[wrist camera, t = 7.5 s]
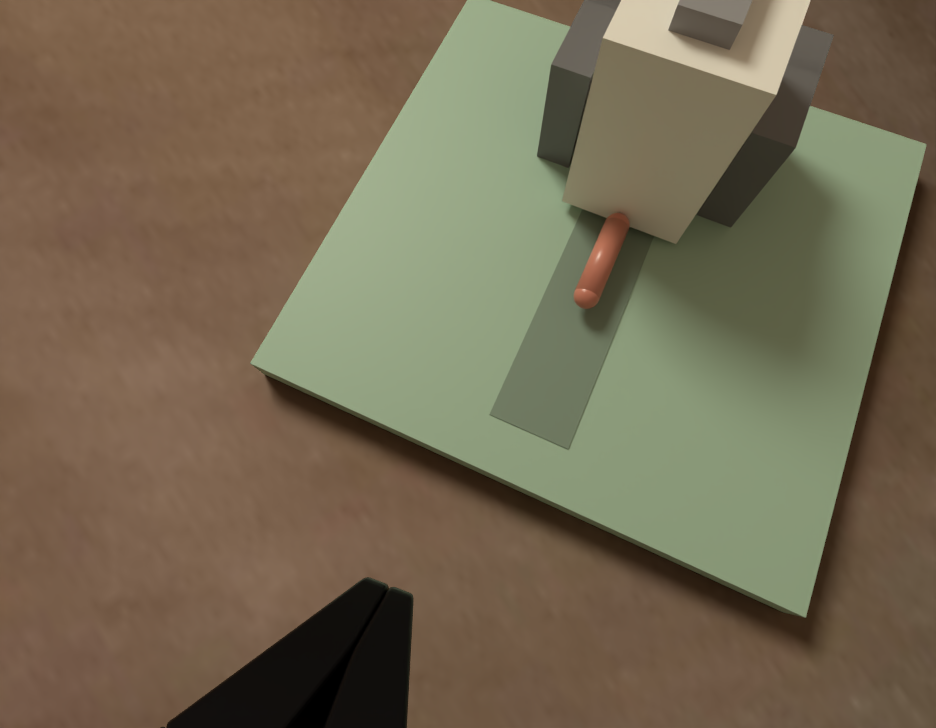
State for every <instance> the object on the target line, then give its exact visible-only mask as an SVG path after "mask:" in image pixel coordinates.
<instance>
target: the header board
mask: <svg viewBox="0 0 936 728" xmlns="http://www.w3.org/2000/svg"><path fill="white" fill-rule="evenodd" d="M569 29H570V27H569V26H566V25H563V24H560V23H557V22H554V21H551V20H548V19H545V18H542V17H539V16H536V15H533V14H530V13H527V12H524V11H521V10H517V9H514V8H511V7H508V6H505V5H502V4H499V3H496V2H493V1H490V0H467V2H466V3H465V5H464V7H463V8H462V10H461V12H460V13H459V15H458V17H457V19H456V20H455V22H454V24H453V25H452V27H451V29H450V30H449V32H448V34H447V35H446V37H445V39H444V40H443V42H442V44H441V45H440V47H439V49H438V50H437V52H436V54H435V55H434V57H433V59H432V60H431V62H430V64H429V65H428V67H427V69H426V70H425V72H424V74H423V75H422V77H421V79H420V80H419V82H418V84H417V85H416V87H415V89H414V90H413V92H412V94H411V95H410V97H409V99H408V100H407V102H406V104H405V105H404V107H403V109H402V110H401V112H400V114H399V115H398V117H397V119H396V120H395V122H394V124H393V125H392V127H391V129H390V130H389V132H388V134H387V136H386V137H385V139H384V141H383V142H382V144H381V146H380V147H379V149H378V151H377V152H376V154H375V156H374V157H373V159H372V161H371V162H370V164H369V166H368V167H367V169H366V171H365V172H364V174H363V176H362V177H361V179H360V181H359V182H358V184H357V186H356V187H355V189H354V191H353V192H352V194H351V196H350V197H349V199H348V201H347V202H346V204H345V206H344V207H343V209H342V211H341V212H340V214H339V216H338V217H337V219H336V221H335V222H334V224H333V226H332V227H331V229H330V231H329V232H328V234H327V236H326V237H325V239H324V241H323V242H322V244H321V246H320V247H319V249H318V251H317V252H316V254H315V256H314V258H313V259H312V261H311V263H310V264H309V266H308V268H307V269H306V271H305V273H304V274H303V276H302V278H301V279H300V281H299V283H298V284H297V286H296V288H295V289H294V291H293V293H292V294H291V296H290V298H289V299H288V301H287V303H286V304H285V306H284V308H283V309H282V311H281V313H280V314H279V316H278V318H277V319H276V321H275V323H274V324H273V326H272V328H271V329H270V331H269V333H268V334H267V336H266V338H265V339H264V341H263V343H262V344H261V346H260V348H259V349H258V351H257V353H256V354H255V356H254V358H253V359H252V361H251V363H250V364H252V365H253V366H254V367H255V368H257V369H258V370H259V371H261V372H262V373H263V374H265V375H267V376H269V377H271V378H273V379H276V380H278V381H280V382H282V383H284V384H286V385H289V386H291V387H293V388H295V389H297V390H300V391H302V392H304V393H306V394H308V395H310V396H313V397H315V398H317V399H319V400H321V401H324V402H326V403H328V404H330V405H332V406H334V407H337V408H339V409H341V410H343V411H345V412H347V413H350V414H352V415H354V416H356V417H358V418H361V419H363V420H365V421H367V422H369V423H371V424H374V425H376V426H378V427H380V428H382V429H385V430H387V431H389V432H391V433H393V434H395V435H398V436H400V437H402V438H404V439H406V440H408V441H411V442H413V443H415V444H417V445H419V446H422V447H424V448H426V449H428V450H430V451H432V452H435V453H437V454H439V455H441V456H443V457H446V458H448V459H450V460H452V461H454V462H456V463H459V464H461V465H463V466H465V467H467V468H469V469H472V470H474V471H476V472H478V473H480V474H483V475H485V476H487V477H489V478H491V479H493V480H496V481H498V482H500V483H502V484H504V485H506V486H509V487H511V488H513V489H515V490H517V491H520V492H522V493H524V494H526V495H528V496H530V497H533V498H535V499H537V500H539V501H541V502H544V503H546V504H548V505H550V506H552V507H554V508H557V509H559V510H561V511H563V512H565V513H567V514H570V515H572V516H574V517H576V518H578V519H581V520H583V521H585V522H587V523H589V524H591V525H594V526H596V527H598V528H600V529H602V530H605V531H607V532H609V533H611V534H613V535H615V536H618V537H620V538H622V539H624V540H626V541H628V542H631V543H633V544H635V545H637V546H639V547H642V548H644V549H646V550H648V551H650V552H652V553H655V554H657V555H659V556H661V557H663V558H666V559H668V560H670V561H672V562H674V563H676V564H679V565H681V566H683V567H685V568H687V569H689V570H692V571H694V572H696V573H698V574H700V575H703V576H705V577H707V578H709V579H711V580H713V581H716V582H718V583H720V584H722V585H724V586H727V587H729V588H731V589H733V590H735V591H737V592H740V593H742V594H744V595H746V596H748V597H750V598H753V599H755V600H757V601H759V602H761V603H764V604H766V605H768V606H770V607H772V608H774V609H777V610H779V611H781V612H784V613H788V614H792V615H796V616H801V617H805V618H806V615H807V611H808V607H809V603H810V599H811V595H812V592H813V588H814V584H815V580H816V576H817V572H818V568H819V564H820V560H821V556H822V552H823V548H824V544H825V541H826V537H827V533H828V529H829V525H830V521H831V517H832V513H833V509H834V505H835V501H836V497H837V493H838V490H839V486H840V482H841V478H842V474H843V470H844V466H845V462H846V458H847V454H848V450H849V446H850V442H851V439H852V435H853V431H854V427H855V423H856V419H857V415H858V411H859V407H860V403H861V399H862V395H863V391H864V388H865V384H866V380H867V376H868V372H869V368H870V364H871V360H872V356H873V352H874V348H875V344H876V340H877V337H878V333H879V329H880V325H881V321H882V317H883V313H884V309H885V305H886V301H887V297H888V293H889V289H890V286H891V282H892V278H893V274H894V270H895V266H896V262H897V258H898V254H899V250H900V246H901V242H902V238H903V235H904V231H905V227H906V223H907V219H908V215H909V211H910V207H911V203H912V199H913V195H914V191H915V188H916V184H917V180H918V176H919V172H920V168H921V164H922V160H923V156H924V152H925V148H926V144H924V143H921V142H918V141H915V140H912V139H909V138H906V137H903V136H900V135H897V134H894V133H891V132H888V131H885V130H882V129H879V128H876V127H873V126H870V125H867V124H863V123H860V122H857V121H854V120H851V119H848V118H845V117H842V116H839V115H836V114H833V113H830V112H827V111H824V110H821V109H818V108H815V107H812V106H810V107H809V110H808V113H807V116H806V119H805V122H804V125H803V128H802V131H801V134H800V137H799V140H798V143H797V146H796V148H795V149H794V151H793V152H792V153H791V154H790V156H789V157H788V158H787V159H786V161H785V162H784V163H783V164H782V165H781V167H780V168H779V169H778V170H777V172H776V173H775V174H774V175H773V177H772V178H771V179H770V180H769V181H768V183H767V184H766V185H765V186H764V188H763V189H762V190H761V191H760V193H759V194H758V195H757V196H756V197H755V199H754V200H753V201H752V202H751V204H750V205H749V206H748V207H747V209H746V210H745V211H744V212H743V213H742V215H741V216H740V217H739V218H738V220H737V221H736V222H735V223H734V225H733V226H732V227H728V226H725V225H722V224H720V223H717V222H714V221H711V220H709V219H706V218H703V217H701V216H698V215H697V214H696V215H695V217H694V218H693V220H692V221H691V223H690V224H689V226H688V227H687V229H686V230H685V232H684V233H683V234H682V236H681V237H680V239H679V240H678V242H677V243H676V244H674V243H672V242H669V241H666V240H664V239H661V238H658V237H656V236H653V235H650V234H648V233H645V232H642V231H640V230H637V229H634V228H632V227H629V230H628V232H627V235H626V237H625V240H624V242H623V244H622V247H621V249H620V252H619V254H618V256H617V259H616V261H615V263H614V266H613V268H612V271H611V273H610V275H609V278H608V280H607V282H606V285H605V287H604V290H603V292H602V294H601V297H600V299H599V301H598V303H597V304H596V305H595V306H594V307H592V308H590V309H583V308H580V307H579V306H578V305H577V304H576V303H575V301H574V291H575V289H576V287H577V284H578V282H579V280H580V278H581V275H582V273H583V271H584V268H585V266H586V264H587V261H588V259H589V257H590V255H591V252H592V250H593V248H594V245H595V243H596V241H597V239H598V236H599V234H600V232H601V229H602V227H603V225H604V223H605V220H606V219H607V218H605V217H603V216H600V215H597V214H595V213H592V212H589V211H587V210H584V209H581V208H579V207H576V206H573V205H571V204H568V203H565V202H563V201H562V198H563V194H564V190H565V186H566V182H567V178H568V175H569V171H570V167H571V164H570V166H569V168H567V167H564V166H562V165H559V164H556V163H554V162H551V161H548V160H545V159H543V158H540V157H537V152H538V145H539V139H540V133H541V126H542V120H543V113H544V107H545V101H546V94H547V88H548V81H549V75H550V69H551V64H552V62H553V60H554V58H555V56H556V54H557V52H558V50H559V48H560V46H561V44H562V42H563V40H564V38H565V37H566V35H567V33H568V31H569ZM571 163H572V162H571Z"/></svg>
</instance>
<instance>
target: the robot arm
mask: <svg viewBox="0 0 936 728" xmlns="http://www.w3.org/2000/svg"><path fill="white" fill-rule="evenodd" d="M412 618H413V595H412V594H411V593H409V592H406V591H404V590H401V589H398V588H396V587H390V588H389V587H388V585H387V584H385V583H383V582H380V581H377V580H375V579H372V578H369V577H367V578H364V579H362V580H361V581H359V582H358V583H356V584H355V585H354V586H352V587H351V588H350V589H348V590H347V591H346V592H344V593H343V594H342V595H340V596H339V597H337V598H336V599H335V600H333V601H332V602H331V603H329V604H328V605H327V606H325V607H324V608H323V609H321V610H320V611H318V612H317V613H316V614H314V615H313V616H312V617H310V618H309V619H308V620H306V621H305V622H304V623H302V624H301V625H299V626H298V627H297V628H295V629H294V630H293V631H291V632H290V633H289V634H287V635H286V636H285V637H283V638H282V639H280V640H279V641H278V642H276V643H275V644H274V645H272V646H271V647H270V648H268V649H267V650H266V651H264V652H263V653H262V654H260V655H259V656H257V657H256V658H255V659H253V660H252V661H251V662H249V663H248V664H247V665H245V666H244V667H243V668H241V669H240V670H238V671H237V672H236V673H234V674H233V675H232V676H230V677H229V678H228V679H226V680H225V681H224V682H222V683H221V684H219V685H218V686H217V687H215V688H214V689H213V690H211V691H210V692H209V693H207V694H206V695H205V696H203V697H202V698H200V699H199V700H198V701H196V702H195V703H194V704H192V705H191V706H190V707H188V708H187V709H186V710H184V711H183V712H181V713H180V714H179V715H177V716H176V717H175V718H173V719H172V720H171V721H169V722H168V723H167V727H166V728H407V712H408V693H409V674H410V656H411V637H412ZM161 728H165V727H161Z"/></svg>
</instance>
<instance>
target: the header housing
mask: <svg viewBox="0 0 936 728" xmlns="http://www.w3.org/2000/svg"><path fill="white" fill-rule="evenodd" d="M620 2H621V0H584V2H583V4H582V6H581V8H580V9H579V11H578V13H577V15H576V17H575V19H574V21H573V23H572V25H571V27H570V29H569V31H568V33H567V35H566V37H565V38H564V40H563V42H562V44H561V46H560V48H559V50H558V52H557V54H556V56H555V58H554V60H553V62H552V64H551V69H550V75H549V81H548V88H547V94H546V101H545V107H544V113H543V120H542V126H541V133H540V139H539V145H538V152H537V157H540V158H543V159H545V160H548V161H551V162H554V163H556V164H559V165H562V166H564V167H567V168H569V166H570V164H571V162H572V159H573V155H574V151H575V147H576V143H577V139H578V135H579V131H580V127H581V123H582V119H583V115H584V111H585V107H586V103H587V99H588V95H589V91H590V87H591V83H592V79H593V75H594V71H595V67H596V63H597V59H598V55H599V51H600V47H601V43H602V39H603V36H604V34H605V32H606V30H607V28H608V26H609V24H610V22H611V20H612V18H613V16H614V14H615V12H616V10H617V8H618V6H619V4H620ZM833 36H834V35H832V34H829V33H826V32H822V31H819V30H816V29H813V28H809V27H806V26H803V25H801V28H800V31H799V34H798V36H797V39H796V42H795V45H794V47H793V50H792V53H791V56H790V59H789V61H788V64H787V67H786V70H785V72H784V75H783V78H782V81H781V83H780V86H779V89H778V92H777V95H776V96H775V98H774V99H773V101H772V102H771V104H770V105H769V107H768V108H767V110H766V111H765V113H764V114H763V116H762V117H761V119H760V120H759V122H758V123H757V125H756V126H755V127H754V129H753V130H752V132H751V133H750V135H749V136H748V138H747V139H746V141H745V142H744V144H743V145H742V147H741V148H740V150H739V151H738V153H737V154H736V156H735V157H734V159H733V160H732V162H731V163H730V165H729V166H728V168H727V169H726V171H725V172H724V174H723V175H722V177H721V178H720V180H719V181H718V182H717V184H716V185H715V187H714V188H713V190H712V191H711V193H710V194H709V196H708V197H707V199H706V200H705V202H704V203H703V205H702V206H701V208H700V209H699V211H698V212H697V215H698V216H701V217H703V218H706V219H709V220H711V221H714V222H717V223H720V224H722V225H725V226H728V227H732V226H733V225H734V223H735V222H736V221H737V220H738V218H739V217H740V216H741V215H742V213H743V212H744V211H745V210H746V209H747V207H748V206H749V205H750V204H751V202H752V201H753V200H754V199H755V197H756V196H757V195H758V194H759V193H760V191H761V190H762V189H763V188H764V186H765V185H766V184H767V183H768V181H769V180H770V179H771V178H772V177H773V175H774V174H775V173H776V172H777V170H778V169H779V168H780V167H781V165H782V164H783V163H784V162H785V161H786V159H787V158H788V157H789V156H790V154H791V153H792V152H793V151H794V149H795V148H796V146H797V143H798V140H799V137H800V134H801V131H802V128H803V125H804V122H805V119H806V116H807V113H808V110H809V107H810V104H811V101H812V98H813V95H814V93H815V90H816V87H817V84H818V81H819V78H820V75H821V72H822V69H823V66H824V63H825V60H826V57H827V54H828V51H829V48H830V45H831V42H832V39H833Z"/></svg>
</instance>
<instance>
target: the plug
mask: <svg viewBox="0 0 936 728" xmlns="http://www.w3.org/2000/svg"><path fill="white" fill-rule="evenodd" d="M809 3H810V0H621V2H620V4H619V6H618V8H617V10H616V12H615V14H614V16H613V18H612V20H611V22H610V24H609V26H608V28H607V30H606V32H605V34H604V36H603V39H602V43H601V47H600V51H599V55H598V59H597V63H596V67H595V71H594V75H593V79H592V83H591V87H590V91H589V95H588V99H587V103H586V107H585V111H584V115H583V119H582V123H581V127H580V131H579V135H578V139H577V143H576V147H575V151H574V155H573V159H572V163H571V167H570V171H569V175H568V178H567V182H566V186H565V190H564V194H563V198H562V201H563V202H565V203H568V204H571V205H573V206H576V207H579V208H581V209H584V210H587V211H589V212H592V213H595V214H597V215H600V216H603V217H605V218H607V219H606V220H605V223H604V225H603V227H602V229H601V232H600V234H599V236H598V239H597V241H596V243H595V245H594V248H593V250H592V252H591V255H590V257H589V259H588V261H587V264H586V266H585V268H584V271H583V273H582V275H581V278H580V280H579V282H578V284H577V287H576V289H575V291H574V301H575V303H576V304H577V305H578V306H579V307H580V308H583V309H590V308H592V307H594V306H595V305H596V304H597V303H598V301H599V299H600V297H601V294H602V292H603V290H604V287H605V285H606V282H607V280H608V278H609V275H610V273H611V271H612V268H613V266H614V263H615V261H616V259H617V256H618V254H619V252H620V249H621V247H622V244H623V242H624V240H625V237H626V235H627V232H628V230H629V227H632V228H634V229H637V230H640V231H642V232H645V233H648V234H650V235H653V236H656V237H658V238H661V239H664V240H666V241H669V242H672V243H674V244H676V243H677V242H678V240H679V239H680V237H681V236H682V234H683V233H684V232H685V230H686V229H687V227H688V226H689V224H690V223H691V221H692V220H693V218H694V217H695V215H696V214H697V212H698V211H699V209H700V208H701V206H702V205H703V203H704V202H705V200H706V199H707V197H708V196H709V194H710V193H711V191H712V190H713V188H714V187H715V185H716V184H717V182H718V181H719V180H720V178H721V177H722V175H723V174H724V172H725V171H726V169H727V168H728V166H729V165H730V163H731V162H732V160H733V159H734V157H735V156H736V154H737V153H738V151H739V150H740V148H741V147H742V145H743V144H744V142H745V141H746V139H747V138H748V136H749V135H750V133H751V132H752V130H753V129H754V127H755V126H756V125H757V123H758V122H759V120H760V119H761V117H762V116H763V114H764V113H765V111H766V110H767V108H768V107H769V105H770V104H771V102H772V101H773V99H774V98H775V96H776V95H777V92H778V89H779V86H780V83H781V81H782V78H783V75H784V72H785V70H786V67H787V64H788V61H789V59H790V56H791V53H792V50H793V47H794V45H795V42H796V39H797V36H798V34H799V31H800V28H801V25H802V23H803V20H804V17H805V14H806V11H807V9H808V6H809Z"/></svg>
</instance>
